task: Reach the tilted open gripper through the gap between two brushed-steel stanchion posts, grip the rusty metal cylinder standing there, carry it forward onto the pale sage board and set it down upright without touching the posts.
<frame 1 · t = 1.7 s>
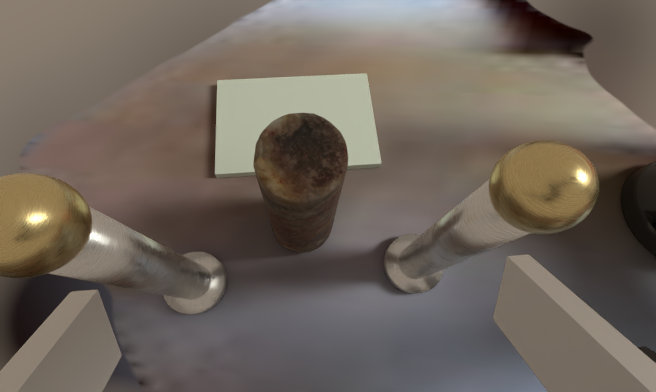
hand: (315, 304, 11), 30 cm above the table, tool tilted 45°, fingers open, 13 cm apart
rusty metal cylinder: (303, 226, 43), on the table
stanchion posts: (306, 273, 41), on the table
sage board: (296, 125, 48), on the table
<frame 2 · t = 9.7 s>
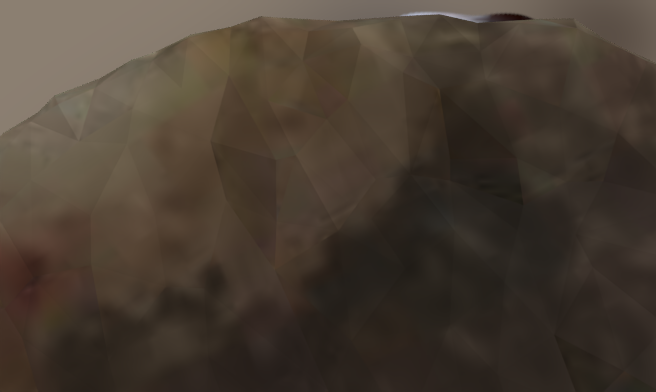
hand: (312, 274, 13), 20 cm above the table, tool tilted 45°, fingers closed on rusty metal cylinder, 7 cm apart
rusty metal cylinder: (313, 359, 20), point 12 cm above the table, touching gripper
when the fingers open (12 cm above the table, at t = 12.8 s): rusty metal cylinder drops 2 cm, resting on sage board.
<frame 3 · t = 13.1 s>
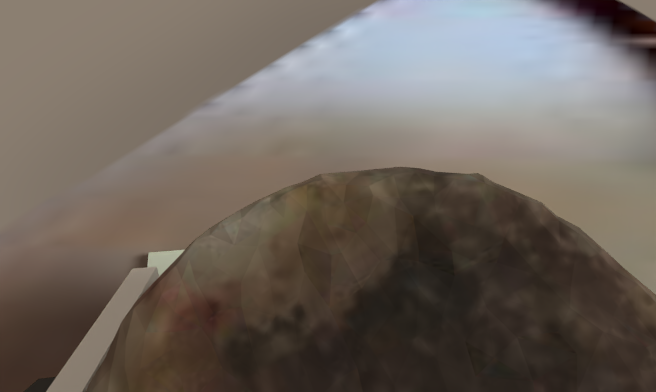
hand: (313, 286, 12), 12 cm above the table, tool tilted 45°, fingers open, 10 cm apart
rusty metal cylinder: (319, 356, 21), point 1 cm above the table, touching sage board
sage board: (317, 355, 22), on the table
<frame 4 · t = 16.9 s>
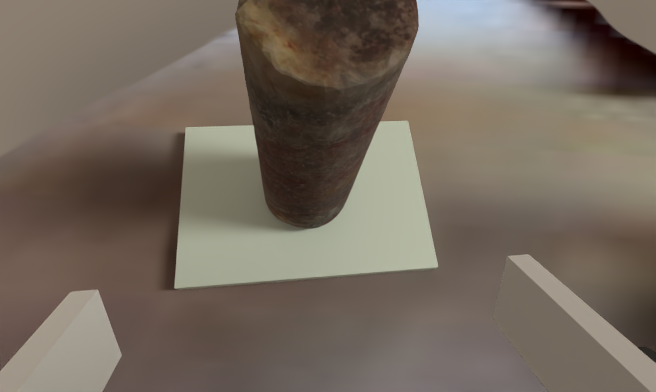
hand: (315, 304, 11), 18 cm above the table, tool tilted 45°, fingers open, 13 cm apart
rusty metal cylinder: (307, 194, 31), point 1 cm above the table, touching sage board
sage board: (305, 198, 32), on the table
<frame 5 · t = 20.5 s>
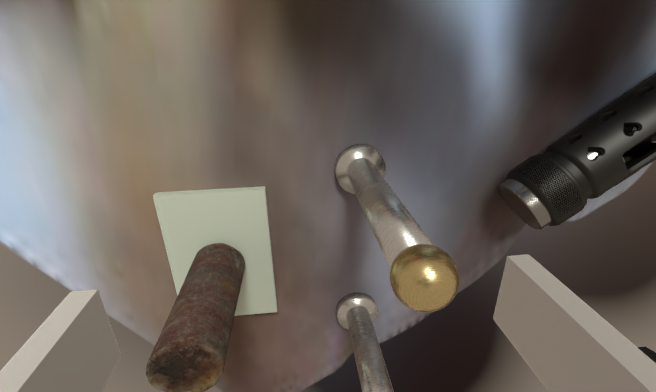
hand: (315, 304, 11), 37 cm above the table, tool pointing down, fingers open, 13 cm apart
muzzle brake: (576, 136, 51), on the table
rusty metal cylinder: (221, 258, 51), point 1 cm above the table, touching sage board
stanchion posts: (357, 245, 54), on the table
sage board: (222, 255, 52), on the table
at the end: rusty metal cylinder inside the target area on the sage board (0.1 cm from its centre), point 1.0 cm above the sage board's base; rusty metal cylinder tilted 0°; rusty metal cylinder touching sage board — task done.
